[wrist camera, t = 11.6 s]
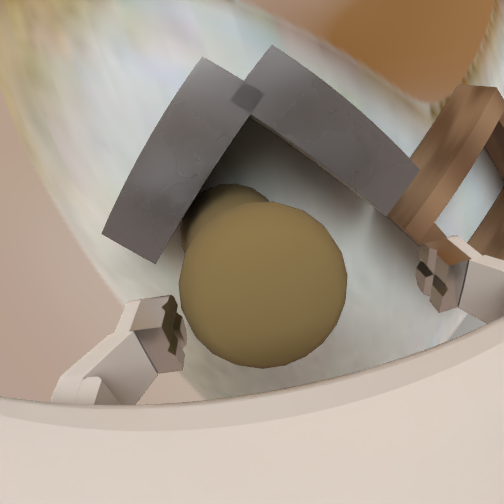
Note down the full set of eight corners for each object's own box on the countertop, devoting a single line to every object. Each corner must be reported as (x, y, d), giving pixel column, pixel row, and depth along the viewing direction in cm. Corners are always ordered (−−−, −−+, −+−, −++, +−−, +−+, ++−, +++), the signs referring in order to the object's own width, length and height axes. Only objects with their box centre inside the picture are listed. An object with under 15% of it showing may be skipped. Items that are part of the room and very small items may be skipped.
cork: (254, 295, 20) (315, 412, 9) (165, 260, 18) (131, 363, 7) (296, 209, 19) (409, 248, 8) (205, 167, 17) (218, 146, 7)
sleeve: (458, 85, 15) (496, 87, 12) (517, 181, 19) (548, 196, 15) (374, 205, 19) (404, 228, 15) (452, 279, 23) (477, 304, 19)
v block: (103, 103, 15) (63, 104, 10) (362, 54, 14) (405, 42, 10) (140, 232, 18) (117, 272, 14) (378, 184, 18) (420, 209, 14)
